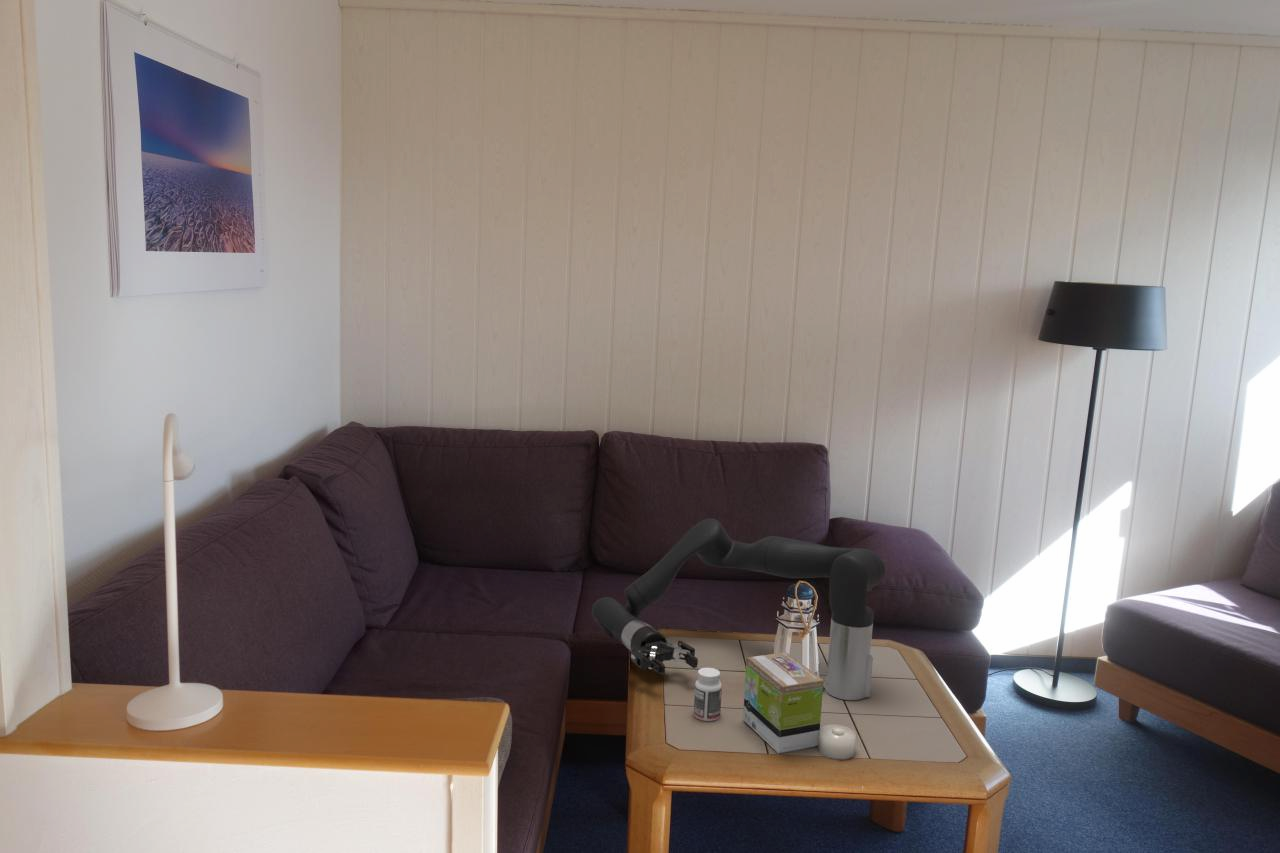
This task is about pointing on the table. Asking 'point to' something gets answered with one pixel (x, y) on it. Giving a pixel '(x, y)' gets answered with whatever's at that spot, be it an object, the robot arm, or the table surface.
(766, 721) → the tea box
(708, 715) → the pill bottle
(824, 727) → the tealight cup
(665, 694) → the table surface
